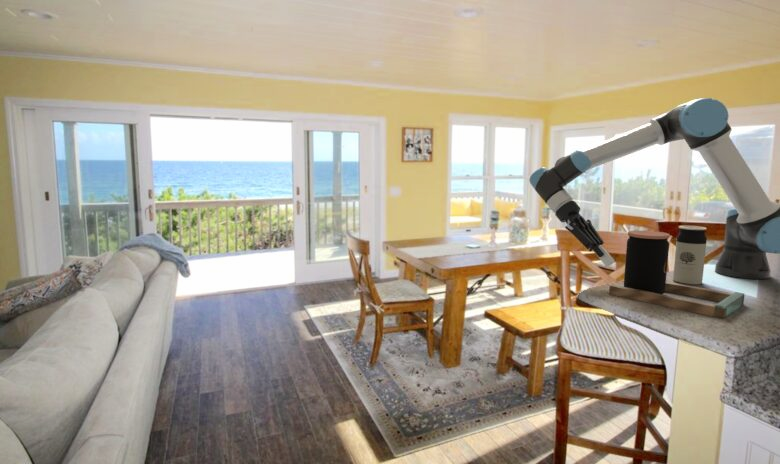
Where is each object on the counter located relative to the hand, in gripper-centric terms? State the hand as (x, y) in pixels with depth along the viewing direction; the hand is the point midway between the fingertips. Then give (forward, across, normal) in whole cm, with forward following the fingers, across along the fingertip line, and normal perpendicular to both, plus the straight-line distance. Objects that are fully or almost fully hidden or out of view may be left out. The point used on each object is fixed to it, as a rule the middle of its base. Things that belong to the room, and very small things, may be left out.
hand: (610, 264), depth 140 cm
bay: (+18, 0, +8) cm, 19 cm away
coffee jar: (+12, 0, +2) cm, 12 cm away
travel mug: (+15, -25, +5) cm, 29 cm away
